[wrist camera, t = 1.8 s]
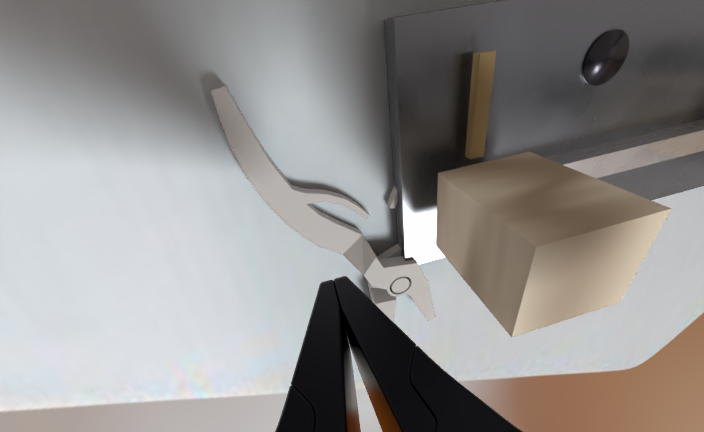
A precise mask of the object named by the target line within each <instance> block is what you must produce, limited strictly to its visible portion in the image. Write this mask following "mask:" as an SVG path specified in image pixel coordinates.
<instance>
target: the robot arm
mask: <svg viewBox="0 0 704 432" xmlns="http://www.w3.org/2000/svg"><path fill="white" fill-rule="evenodd" d="M349 344H350V346H349ZM350 348H351V350H352V353H353V356H354V359H355V361H356V364H357V366H358V369H359V372H360V374H361V377H362V379H363V382H364V385H365V387H366V390H367V392H368V395H369V398H370V400H371V403H372V405H373V408H374V410H375V413H376V416H377V418H378V421H379V424H380V426H381V428H382V431H383V432H523V431H521V430H519V429H518V428H517V427H515V426H514V425H513V424H511V423H510V422H509V421H507V420H506V419H505V418H503V417H502V416H501V415H499V414H498V413H497V412H496V411H494V410H493V409H492V408H490V407H489V406H488V405H487V404H485V403H484V402H483V401H482V400H480V399H479V398H478V397H476V396H475V395H474V394H473V393H471V392H470V391H469V390H467V389H466V388H465V387H464V386H462V385H461V384H460V383H459V382H457V381H456V380H455V379H454V378H453V377H451V376H450V375H449V374H448V373H446V372H445V371H444V370H443V369H442V368H441V367H440V366H438V365H437V364H436V363H435V362H434V361H433V360H432V359H431V358H430V357H429V356H428V355H427V354H426V353H425V352H423V351H422V350H421V349H420V348H419V347H418V346H416V344H415V343H414V342H413V341H412V340H411V339H410V338H409V337H408V336H407V335H406V334H405V333H404V332H403V331H402V330H401V329H400V328H399V327H398V326H397V325H396V324H395V323H394V322H393V321H392V320H391V319H390V318H389V317H387V316H386V315H385V314H384V313H383V312H382V311H381V310H380V309H379V308H378V307H377V306H376V305H375V304H374V303H373V302H372V301H371V300H370V299H369V298H368V297H367V296H366V295H365V294H364V293H363V292H362V291H361V290H360V289H359V288H358V287H357V286H356V285H355V284H354V283H353V282H352V281H351V280H350V279H349V278H348V277H346V276H344V277H340V278H336V279H334V281H333V280H329V281H325V282H322V283H321V284H320V286H319V290H318V293H317V297H316V300H315V303H314V307H313V310H312V314H311V317H310V320H309V324H308V327H307V331H306V334H305V337H304V341H303V344H302V348H301V351H300V354H299V358H298V361H297V365H296V368H295V371H294V375H293V378H292V382H291V385H292V386H290V388H289V391H288V395H287V398H286V402H285V405H284V408H283V411H282V414H281V417H280V420H279V423H278V426H277V429H276V431H275V432H361V430H360V422H359V414H358V407H357V398H356V390H355V383H354V375H353V367H352V359H351V352H350Z"/></svg>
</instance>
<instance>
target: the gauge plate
mask: <svg viewBox="0 0 704 432" xmlns="http://www.w3.org/2000/svg"><path fill="white" fill-rule="evenodd" d="M384 26H385V42H386V58H387V74H388V91H389V107H390V123H391V139H392V156H393V172H394V187H395V188H396V189H397V192H398V202H397V204H396V221H397V237H398V245H399V246H400V248H401V256H403V258H404V259H405V261H408V260H416V261H417V263H418V264H423V263H426V262H430V261H434V260H437V259H441V258H444V257H445V256H444V255H443V253H442V252H441V251H440V250H439V249H438V247H437V246H436V225H437V191H438V173H439V172H444V171H448V170H452V169H457V168H461V167H465V166H469V165H474V164H478V163H482V162H486V161H491V160H495V159H499V158H503V157H508V156H512V155H516V154H520V153H525V152H532V153H534V154H537V155H539V156H542V157H544V158H547V159H549V160H552V161H554V162H557V163H559V164H562V165H564V166H567V167H569V168H572V169H574V170H577V171H579V172H582V173H584V174H586V175H589V176H591V177H594V178H596V179H599V180H601V181H604V182H606V183H609V184H611V185H614V186H616V187H619V188H621V189H624V190H626V191H629V192H631V193H634V194H636V195H639V196H641V197H644V198H646V199H648V200H654V199H658V198H661V197H665V196H669V195H672V194H676V193H679V192H683V191H687V190H690V189H694V188H697V187H701V186H704V0H503V1H496V2H490V3H483V4H477V5H471V6H464V7H458V8H451V9H445V10H438V11H432V12H426V13H419V14H413V15H406V16H400V17H394V18H390V19H386V20H384ZM484 51H496V57H495V66H494V74H493V82H492V91H491V99H490V108H489V116H488V124H487V133H486V141H485V149H484V156H483V157H478V158H474V159H469V158H467V157H465V149H466V137H467V125H468V113H469V100H470V88H471V76H472V64H473V53H478V52H484Z"/></svg>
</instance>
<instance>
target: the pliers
mask: <svg viewBox="0 0 704 432" xmlns="http://www.w3.org/2000/svg"><path fill="white" fill-rule="evenodd" d="M211 94H212V97H213V100H214V103H215V106H216V110H217V113H218V116H219V119H220V122H221V125H222V127H223V130H224V132H225V135H226V137H227V140H228V143H229V145H230V148H231V150H232V151H233V153H234V155H235V157H236V159H237V161H238V163H239V164H240V166H241V168H242V170H243V172H244V173H245V175H246V176H247V178H248V179H249V181H250V182H251V184H252V185H253V187H254V188H255V190H256V191H257V193H258V194H259V195H260V196H261V197H262V199H263V200H264V201H265V202H266V203H267V204H268V206H269V207H270V208H271V209H272V210H273V211H274V212H275V213H276V214H277V215H278V216H279V217H280V218H281V219H282V220H283V221H284V222H285V223H286V224H287V225H288V226H290V227H291V228H292V229H293V230H295V231H296V232H297V233H298V234H299V235H301V236H302V237H304V238H305V239H307V240H309V241H310V242H312V243H314V244H315V245H317V246H319V247H322V248H325V249H328V250H331V251H334V252H337V253H340V254H343V255H344V256H345V257H346V258H347V259H348V260H349V261H350V262H351V263H352V264H353V265H354V266H355V267H356V268H357V269H358V270H359V271H360V272H361V273H362V274H363V275H364V276H365V278H366V279H367V280H368V282H367V283H368V288H369V292H370V297H371V301H372V302H373V303H374V304H375V305H376V306H377V307H378V308H379V309H380V310H381V311H382V312H383V313H384V314H385V315H386V316H387V317H389V318H390V319H391V320H392V321H393V322H394V315H395V306H396V297H397V296H402V295H404V294H408V295H410V296H411V298H412V299H413V301H414V302H415V304H416V305H417V307H418V308H419V310H420V311H421V313H422V314H423V316H424V317H425V319H426V320H427V321H429V320H430V319H432V318H434V317H435V316H436V315H435V311H434V306H433V302H432V297H431V293H430V288H429V284H428V280H427V278H426V277H425V275H424V273H423V271H422V270H421V268H420V266H419V264H418V263H417V261H416V260H408V261H405V259H404V258H403V256H401V248H400V246H399V245H398V243H397V244H396V245H394V246H393V247H391V248H390V249H388V250H386V251H385V252H383V253H382V254H380V255H379V256H376V254H375V253H374V251H373V249H372V248H371V246H370V245H369V243H368V242H367V240H366V239H365V237H364V236H363V234H362V233H361V231H360V230H359V229H357V228H355V227H352V226H350V225H348V224H346V223H343V222H341V221H339V220H337V219H335V218H333V217H331V216H329V215H327V214H325V213H323V212H321V211H319V210H318V209H316V208H315V207H314V206H313V205H312V204H311V203H318V202H325V201H326V202H331V203H336V204H341V205H344V206H346V207H348V208H350V209H352V210H354V211H355V212H357V213H358V214H360V215H361V216H362V217H364V218H365V219H367V218H368V217H369V216H370V215H369V213H368V212H367V211H366V210H365V209H364V208H363V207H361V206H360V205H359V204H358V203H356V202H355V201H353V200H351V199H350V198H348V197H346V196H344V195H343V194H339V193H336V192H332V191H328V190H325V189H306V188H301V187H298V186H294V185H291V183H290V182H289V181H288V180H287V179H286V177H285V176H284V175H283V174H282V172H281V171H280V170H279V169H278V168H277V166H276V165H275V164H274V162H273V161H272V160H271V158H270V157H269V156H268V154H267V153H266V151H265V150H264V148H263V147H262V145H261V144H260V142H259V140H258V139H257V137H256V136H255V134H254V132H253V131H252V129H251V128H250V126H249V124H248V123H247V121H246V119H245V118H244V116H243V114H242V113H241V111H240V109H239V107H238V106H237V104H236V102H235V100H234V98H233V97H232V95H231V93H230V91H229V89H228V87H227V86H222V87H219V88H216V89H213V90H211ZM397 202H398V192H397V189H396V188H395V187H393V189H392V191H391V194H390V196H389V199H388V202H387V205H388V206H389V208H393V209H395V207H396V204H397Z"/></svg>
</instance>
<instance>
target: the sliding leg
mask: <svg viewBox="0 0 704 432" xmlns="http://www.w3.org/2000/svg"><path fill="white" fill-rule="evenodd" d="M495 57H496V51H484V52H478V53H473V64H472V76H471V88H470V100H469V113H468V125H467V137H466V149H465V157H467V158H469V159H474V158H478V157H483V156H484V149H485V141H486V133H487V124H488V116H489V108H490V99H491V91H492V82H493V74H494V66H495ZM670 210H671V208H668V207H666V206H663V205H661V204H658V203H656V202H653V201H651V200H648V199H646V198H644V197H641V196H639V195H636V194H634V193H631V192H629V191H626V190H624V189H621V188H619V187H616V186H614V185H611V184H609V183H606V182H604V181H601V180H599V179H596V178H594V177H591V176H589V175H586V174H584V173H582V172H579V171H577V170H574V169H572V168H569V167H567V166H564V165H562V164H559V163H557V162H554V161H552V160H549V159H547V158H544V157H542V156H539V155H537V154H534V153H532V152H525V153H520V154H516V155H512V156H508V157H503V158H499V159H495V160H491V161H486V162H482V163H478V164H474V165H469V166H465V167H461V168H457V169H452V170H448V171H444V172H439V173H438V191H437V225H436V246H437V247H438V249H439V250H440V251H441V252H442V253H443V255H444V256H445V257H446V258H447V259H448V261H449V262H450V263H451V264H452V266H453V267H454V268H455V269H456V270H457V272H458V273H459V274H460V275H461V276H462V278H463V279H464V280H465V281H466V283H467V284H468V285H469V286H470V287H471V289H472V290H473V291H474V292H475V293H476V295H477V296H478V297H479V298H480V299H481V301H482V302H483V303H484V304H485V306H486V307H487V308H488V309H489V310H490V312H491V313H492V314H493V315H494V316H495V318H496V319H497V320H498V321H499V323H500V324H501V325H502V326H503V327H504V329H505V330H506V331H507V332H508V333H509V335H510V336H511V337H514V336H517V335H521V334H524V333H527V332H530V331H533V330H536V329H539V328H542V327H545V326H548V325H551V324H554V323H557V322H560V321H563V320H567V319H570V318H573V317H576V316H579V315H582V314H585V313H588V312H591V311H594V310H597V309H600V308H603V307H606V306H609V305H612V304H616V303H619V302H621V300H622V298H623V296H624V294H625V293H626V291H627V289H628V287H629V285H630V283H631V282H632V280H633V278H634V276H635V274H636V272H637V271H638V269H639V267H640V265H641V263H642V262H643V260H644V258H645V256H646V254H647V252H648V251H649V249H650V247H651V245H652V243H653V241H654V240H655V238H656V236H657V234H658V232H659V230H660V229H661V227H662V225H663V223H664V221H665V220H666V218H667V216H668V214H669V212H670Z"/></svg>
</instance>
